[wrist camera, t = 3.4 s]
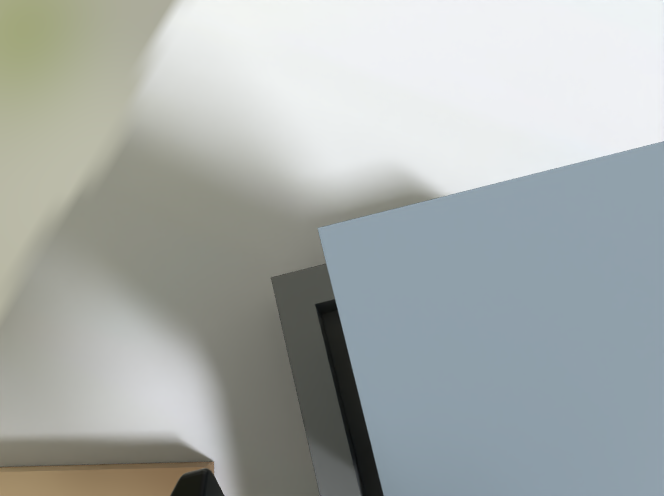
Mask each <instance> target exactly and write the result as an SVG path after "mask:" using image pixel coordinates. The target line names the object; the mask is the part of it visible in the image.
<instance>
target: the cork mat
mask: <svg viewBox="0 0 664 496" xmlns="http://www.w3.org/2000/svg"><path fill="white" fill-rule="evenodd" d="M203 468H208V469H210V470H211V471H212V473H213V475H214V462H179V463H140V464H100V465H61V466H22V467H0V496H170V495H171V493H172V491H173V489H174V487H175V485H176V483H177V481H178V480H179V478H180V477H181V476H182V475H183V474H185V473H187V472H191V471H195V470H199V469H203Z"/></svg>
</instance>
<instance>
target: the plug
mask: <svg viewBox="0 0 664 496" xmlns="http://www.w3.org/2000/svg"><path fill="white" fill-rule="evenodd" d="M318 232H319V236H320V240H321V244H322V248H323V252H324V256H325V260H326V264H327V268H328V272H329V276H330V280H331V284H332V288H333V292H334V296H335V300H336V304H337V308H338V312H339V317H340V321H341V325H342V329H343V333H344V337H345V341H346V345H347V349H348V353H349V357H350V361H351V365H352V369H353V373H354V377H355V381H356V385H357V389H358V393H359V397H360V402H361V406H362V410H363V414H364V418H365V422H366V426H367V430H368V434H369V438H370V442H371V446H372V450H373V454H374V458H375V462H376V466H377V470H378V474H379V478H380V482H381V487H382V491H383V495H384V496H664V141H663V142H659V143H655V144H651V145H647V146H643V147H639V148H635V149H631V150H627V151H624V152H620V153H616V154H612V155H608V156H604V157H600V158H596V159H592V160H588V161H584V162H580V163H576V164H572V165H568V166H564V167H560V168H556V169H552V170H548V171H544V172H540V173H536V174H532V175H528V176H524V177H520V178H516V179H512V180H508V181H504V182H500V183H496V184H492V185H488V186H484V187H480V188H476V189H472V190H468V191H464V192H460V193H456V194H452V195H448V196H444V197H440V198H436V199H432V200H428V201H424V202H420V203H416V204H412V205H408V206H404V207H400V208H396V209H392V210H388V211H384V212H380V213H376V214H372V215H368V216H364V217H360V218H356V219H352V220H348V221H344V222H340V223H336V224H332V225H328V226H324V227H320V228H318Z"/></svg>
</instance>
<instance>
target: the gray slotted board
mask: <svg viewBox="0 0 664 496" xmlns="http://www.w3.org/2000/svg"><path fill="white" fill-rule="evenodd" d="M271 280H272V284H273V289H274V293H275V298H276V302H277V307H278V311H279V315H280V320H281V324H282V329H283V333H284V338H285V342H286V347H287V351H288V355H289V360H290V364H291V369H292V373H293V378H294V382H295V386H296V391H297V395H298V400H299V404H300V409H301V413H302V417H303V422H304V426H305V431H306V435H307V440H308V444H309V448H310V453H311V457H312V462H313V466H314V471H315V475H316V480H317V484H318V488H319V493H320V496H384V495H383V491H382V487H381V482H380V478H379V474H378V470H377V466H376V462H375V458H374V454H373V450H372V446H371V442H370V438H369V434H368V430H367V426H366V422H365V418H364V414H363V410H362V406H361V402H360V397H359V393H358V389H357V385H356V381H355V377H354V373H353V369H352V365H351V361H350V357H349V353H348V349H347V345H346V341H345V337H344V333H343V329H342V325H341V321H340V317H339V312H338V308H337V304H336V300H335V296H334V292H333V288H332V284H331V280H330V276H329V272H328V268H327V264H323V265H319V266H315V267H311V268H307V269H303V270H299V271H295V272H291V273H287V274H283V275H279V276H275V277H271Z"/></svg>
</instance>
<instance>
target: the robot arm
mask: <svg viewBox="0 0 664 496" xmlns="http://www.w3.org/2000/svg"><path fill="white" fill-rule="evenodd" d="M170 496H224V494H223V492H222V490H221V488H220V486H219V484H218V482H217V480H216V478H215V477H214V475H213V473H212V471H211V470H210V469H208V468H203V469H199V470H195V471H191V472H187V473H185V474H183V475H182V476H181V477H180V478H179V480H178V481H177V483H176V485H175V487H174V489H173V491H172V493H171V495H170Z"/></svg>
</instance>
